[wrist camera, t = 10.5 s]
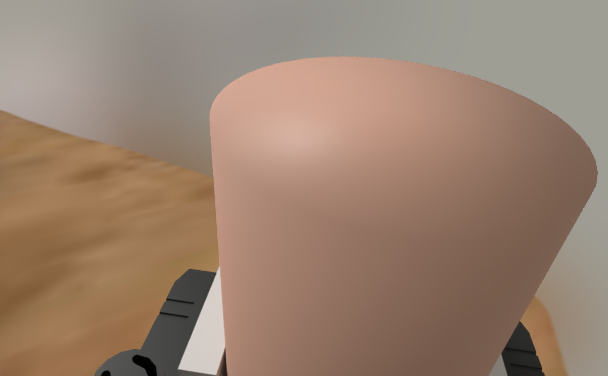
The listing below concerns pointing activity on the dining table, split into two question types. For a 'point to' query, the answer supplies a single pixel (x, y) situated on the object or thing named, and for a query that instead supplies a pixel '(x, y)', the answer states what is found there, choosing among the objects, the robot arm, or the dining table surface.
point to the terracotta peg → (384, 216)
